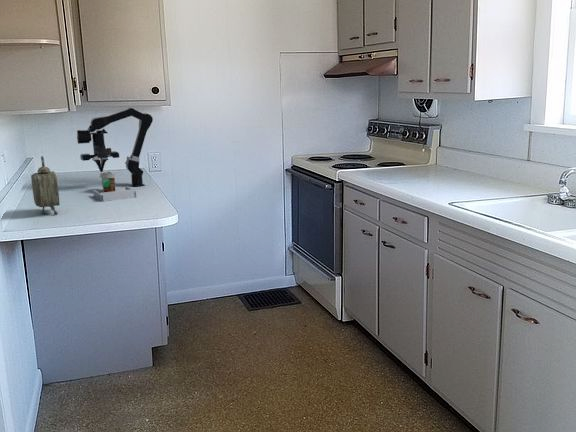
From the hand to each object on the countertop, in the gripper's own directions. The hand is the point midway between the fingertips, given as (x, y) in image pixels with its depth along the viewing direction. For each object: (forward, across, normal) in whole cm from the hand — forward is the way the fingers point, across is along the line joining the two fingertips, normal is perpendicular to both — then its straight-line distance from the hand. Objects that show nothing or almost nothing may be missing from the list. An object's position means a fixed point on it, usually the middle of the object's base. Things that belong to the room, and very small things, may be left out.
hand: (101, 172), depth 301 cm
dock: (+9, 0, -24) cm, 26 cm away
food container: (+9, 0, -10) cm, 13 cm away
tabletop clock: (+9, -34, -42) cm, 55 cm away
